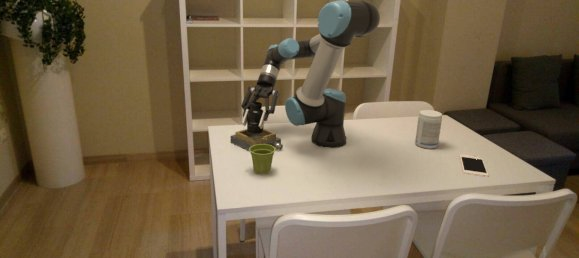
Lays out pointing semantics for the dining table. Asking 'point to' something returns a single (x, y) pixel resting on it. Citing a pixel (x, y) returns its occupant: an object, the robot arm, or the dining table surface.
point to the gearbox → (255, 139)
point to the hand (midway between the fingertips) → (252, 125)
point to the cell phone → (473, 165)
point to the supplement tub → (428, 129)
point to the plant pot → (262, 157)
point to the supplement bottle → (254, 117)
